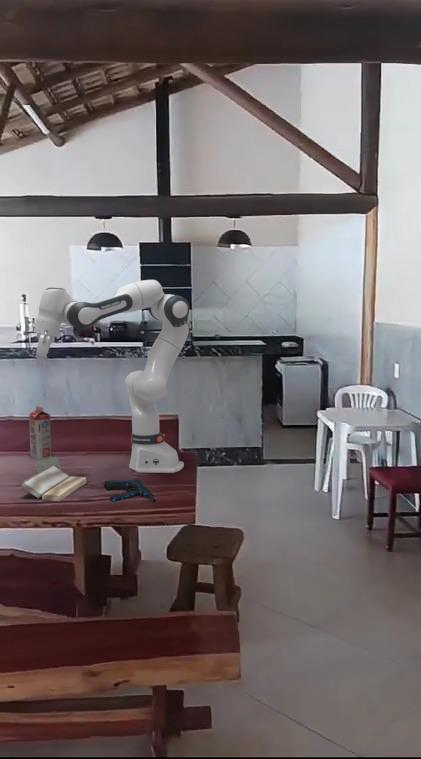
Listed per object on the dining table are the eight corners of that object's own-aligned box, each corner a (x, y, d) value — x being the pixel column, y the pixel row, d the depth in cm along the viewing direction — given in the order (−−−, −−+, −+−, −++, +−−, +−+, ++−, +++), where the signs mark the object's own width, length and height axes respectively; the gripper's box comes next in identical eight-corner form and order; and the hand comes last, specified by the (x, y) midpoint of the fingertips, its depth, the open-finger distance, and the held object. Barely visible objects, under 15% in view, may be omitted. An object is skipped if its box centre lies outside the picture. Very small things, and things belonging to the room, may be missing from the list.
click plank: (66, 480, 245) (69, 475, 245) (38, 498, 224) (41, 493, 223) (49, 468, 246) (51, 464, 246) (20, 486, 225) (22, 481, 224)
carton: (45, 453, 286) (43, 404, 283) (51, 456, 281) (49, 406, 278) (30, 456, 282) (28, 406, 279) (37, 459, 277) (35, 408, 273)
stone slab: (37, 478, 255) (62, 473, 257) (35, 471, 254) (61, 466, 257) (35, 464, 276) (58, 459, 279) (34, 458, 275) (57, 453, 278)
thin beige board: (86, 482, 243) (86, 477, 243) (59, 501, 222) (59, 495, 222) (69, 481, 245) (69, 476, 245) (42, 499, 224) (41, 494, 223)
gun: (116, 510, 217) (158, 504, 223) (116, 502, 216) (158, 496, 222) (99, 487, 238) (138, 482, 244) (99, 480, 238) (138, 475, 244)
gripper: (55, 332, 227) (47, 371, 228) (55, 331, 247) (48, 367, 248) (37, 328, 226) (28, 367, 226) (39, 328, 246) (31, 363, 246)
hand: (38, 367), depth 237 cm, fingers open, 8 cm apart
